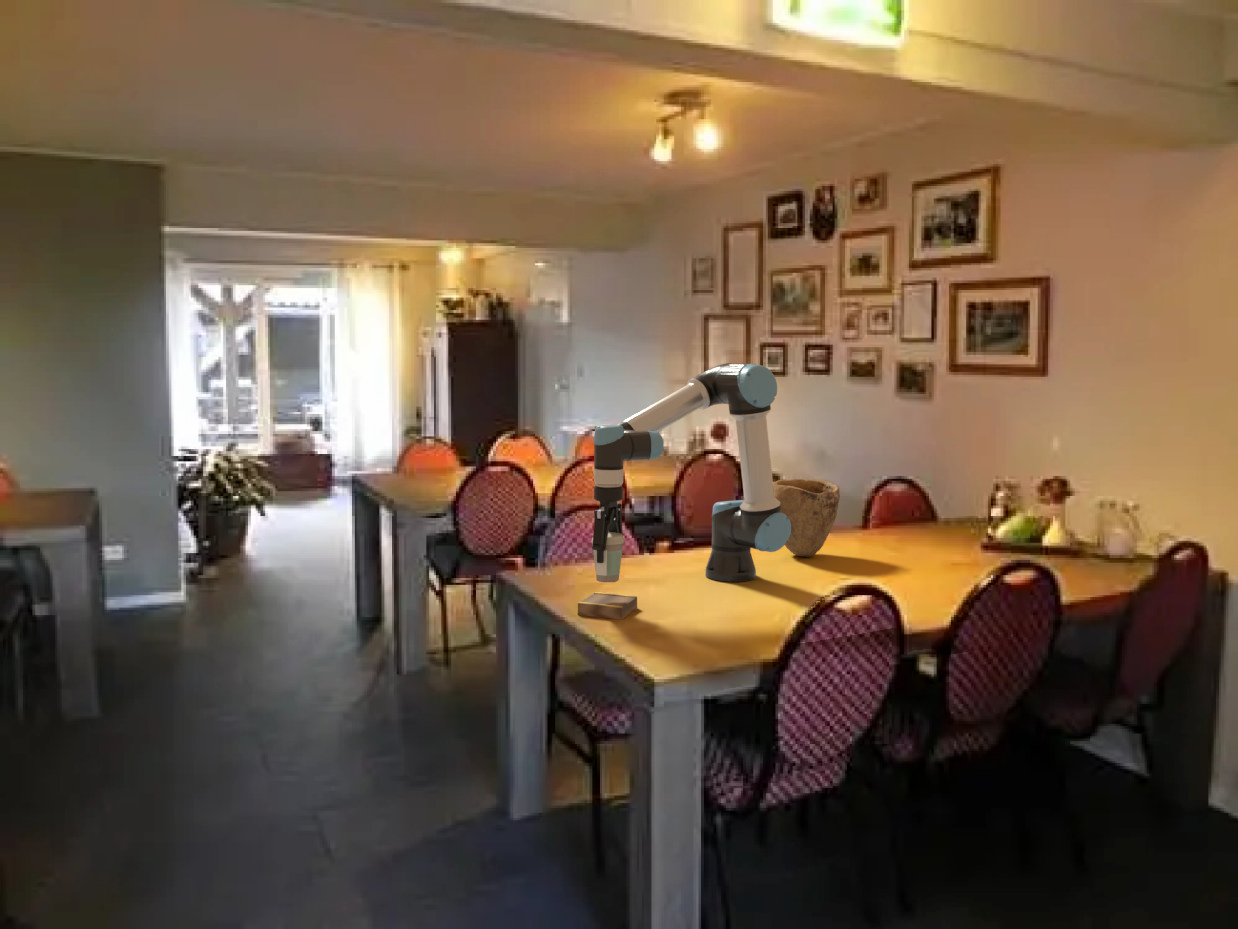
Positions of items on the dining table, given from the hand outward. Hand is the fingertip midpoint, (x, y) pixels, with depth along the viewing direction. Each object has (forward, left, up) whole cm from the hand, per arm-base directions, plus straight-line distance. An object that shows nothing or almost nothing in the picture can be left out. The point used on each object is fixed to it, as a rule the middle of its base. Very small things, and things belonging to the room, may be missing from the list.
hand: (607, 571), depth 261 cm
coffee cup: (0, 0, -3) cm, 3 cm away
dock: (0, 0, -11) cm, 11 cm away
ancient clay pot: (-35, -88, -11) cm, 95 cm away
